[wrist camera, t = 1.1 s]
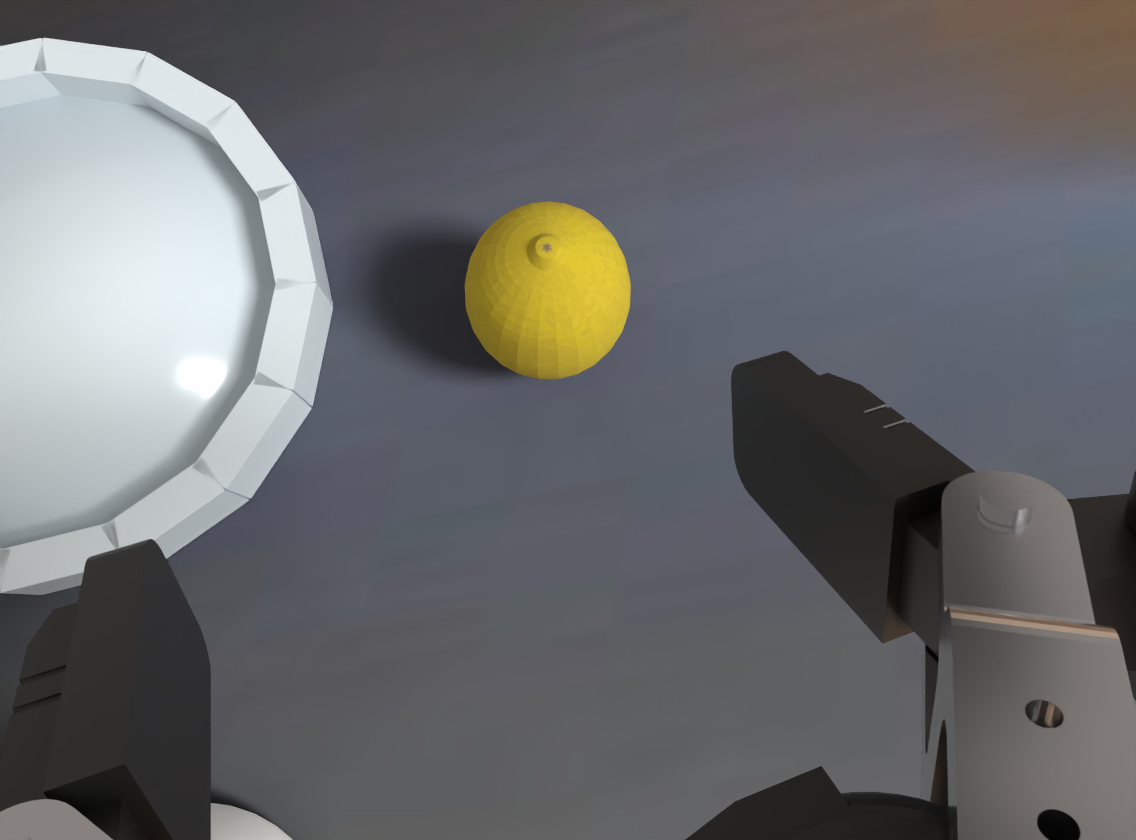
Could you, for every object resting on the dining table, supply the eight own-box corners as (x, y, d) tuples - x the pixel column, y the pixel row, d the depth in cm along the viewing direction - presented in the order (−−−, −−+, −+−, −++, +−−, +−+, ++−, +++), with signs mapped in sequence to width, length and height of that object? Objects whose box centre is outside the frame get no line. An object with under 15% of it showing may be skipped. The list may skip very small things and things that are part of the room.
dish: (14, -1, 37) (-25, -45, 34) (428, 234, 35) (419, 205, 32) (-329, 409, 33) (-400, 392, 30) (116, 698, 31) (79, 706, 28)
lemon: (450, 365, 34) (419, 289, 26) (514, 240, 35) (503, 131, 27) (585, 426, 33) (594, 368, 25) (645, 297, 34) (671, 204, 27)
